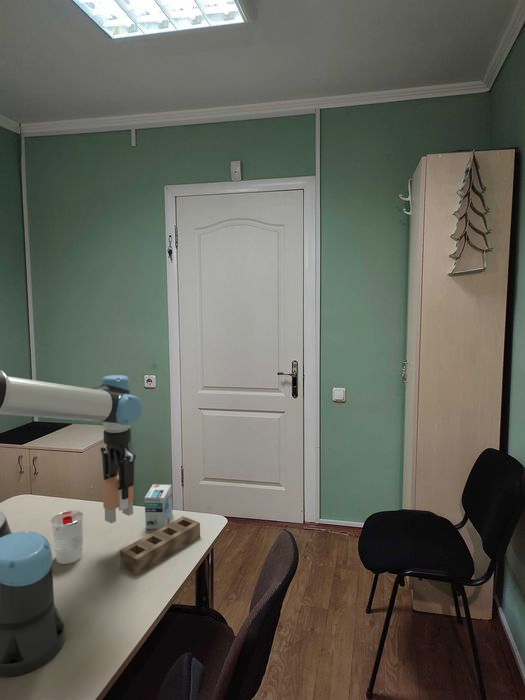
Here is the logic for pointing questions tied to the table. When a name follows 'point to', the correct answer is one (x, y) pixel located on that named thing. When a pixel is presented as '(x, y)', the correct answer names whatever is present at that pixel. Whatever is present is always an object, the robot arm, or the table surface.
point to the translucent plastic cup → (68, 536)
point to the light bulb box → (158, 506)
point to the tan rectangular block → (115, 499)
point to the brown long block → (159, 545)
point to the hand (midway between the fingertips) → (118, 506)
